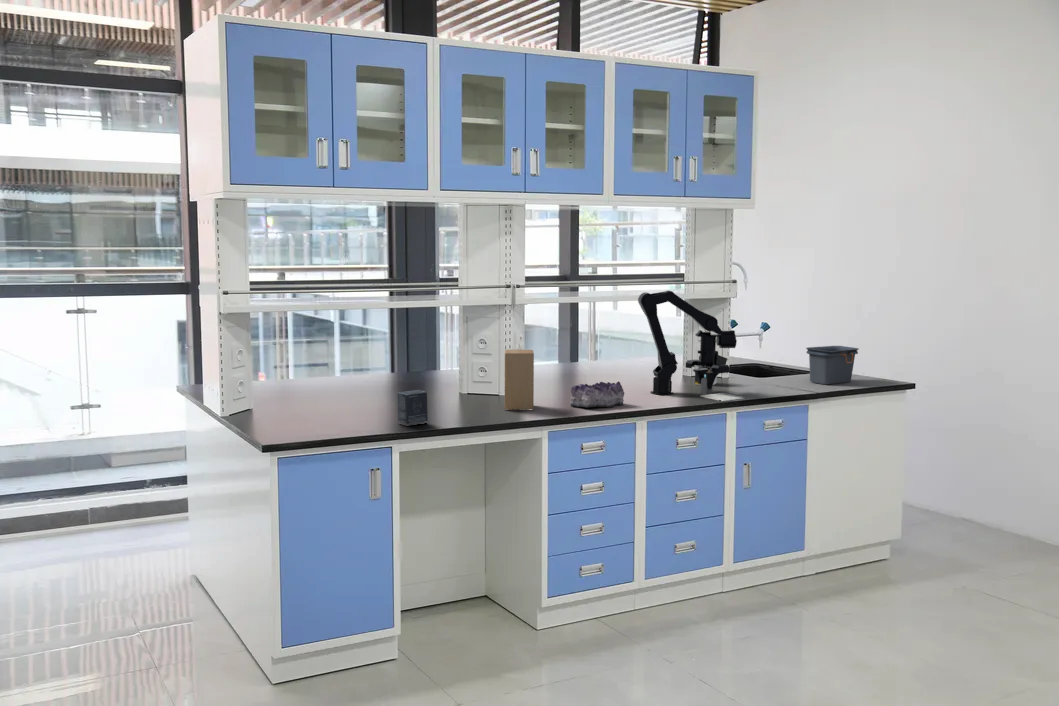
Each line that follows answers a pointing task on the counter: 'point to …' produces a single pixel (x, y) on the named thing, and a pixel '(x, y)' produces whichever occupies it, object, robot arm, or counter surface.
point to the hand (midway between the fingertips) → (706, 388)
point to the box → (412, 406)
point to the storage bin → (831, 364)
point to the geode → (597, 395)
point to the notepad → (723, 396)
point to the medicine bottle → (698, 379)
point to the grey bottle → (705, 386)
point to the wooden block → (519, 379)
